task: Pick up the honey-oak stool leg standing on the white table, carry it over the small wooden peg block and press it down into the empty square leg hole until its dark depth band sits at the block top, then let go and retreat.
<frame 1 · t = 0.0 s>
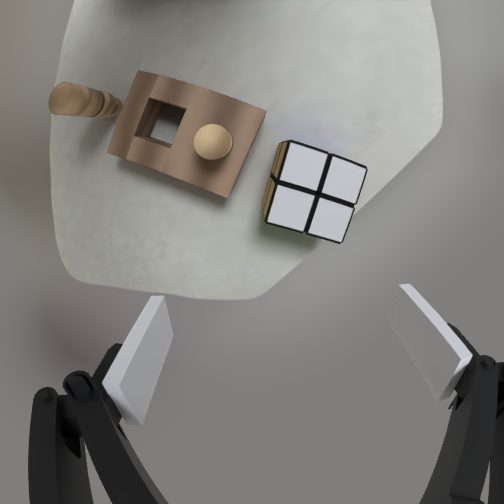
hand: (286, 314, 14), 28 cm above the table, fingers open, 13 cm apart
wooden peg block: (190, 131, 36), on the table
puzzle cube: (302, 182, 40), on the table
leg: (113, 107, 34), on the table
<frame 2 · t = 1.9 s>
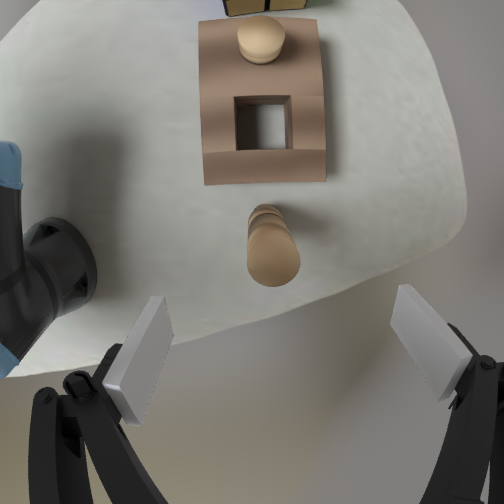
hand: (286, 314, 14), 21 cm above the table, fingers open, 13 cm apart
wooden peg block: (260, 102, 29), on the table
leg: (264, 216, 34), on the table
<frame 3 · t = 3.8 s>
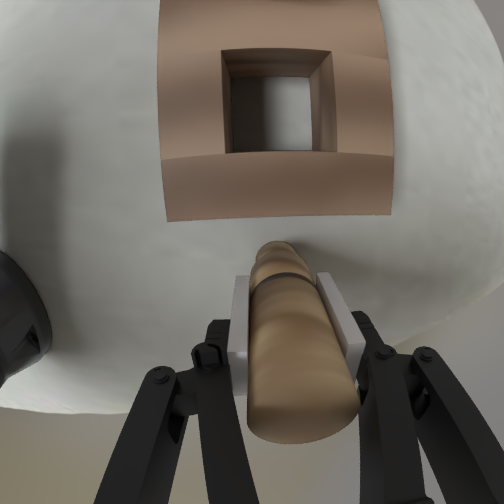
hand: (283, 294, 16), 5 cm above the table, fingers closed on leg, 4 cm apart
wooden peg block: (269, 73, 16), on the table
leg: (276, 260, 21), on the table, touching gripper
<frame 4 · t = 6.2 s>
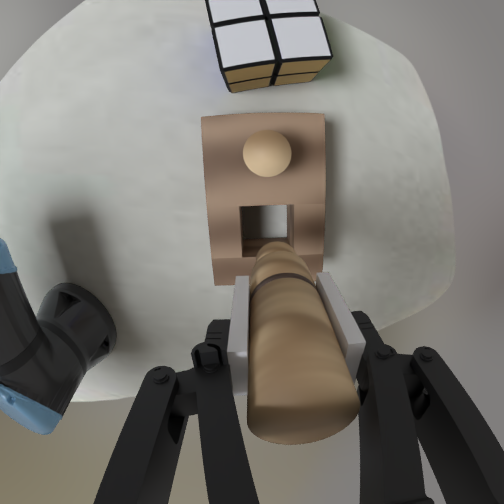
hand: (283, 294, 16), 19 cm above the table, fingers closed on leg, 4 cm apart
wooden peg block: (263, 193, 33), on the table
puzzle cube: (262, 51, 26), on the table
leg: (276, 261, 21), point 14 cm above the table, touching gripper
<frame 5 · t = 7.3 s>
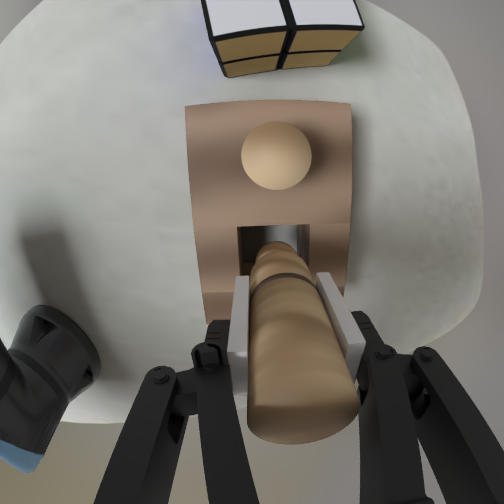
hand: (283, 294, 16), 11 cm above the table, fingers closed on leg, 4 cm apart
wooden peg block: (268, 205, 26), on the table
puzzle cube: (267, 28, 20), on the table
leg: (276, 261, 21), point 6 cm above the table, touching gripper
when the fingers open (7 cm above the table, at t = 8.4 s): leg drops 2 cm, resting in wooden peg block.
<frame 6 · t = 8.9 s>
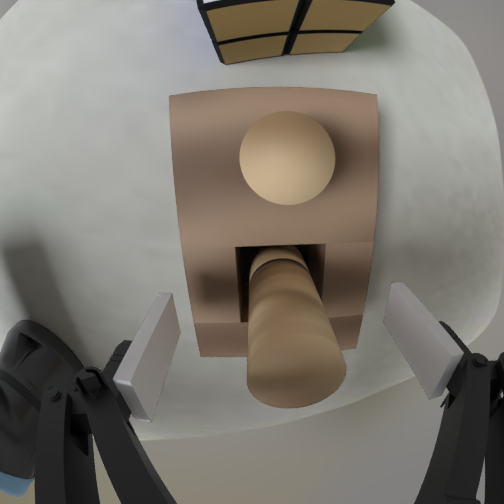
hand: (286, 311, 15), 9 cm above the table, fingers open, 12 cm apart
wooden peg block: (273, 216, 22), on the table
puzzle cube: (271, 9, 16), on the table
leg: (274, 251, 23), resting in wooden peg block
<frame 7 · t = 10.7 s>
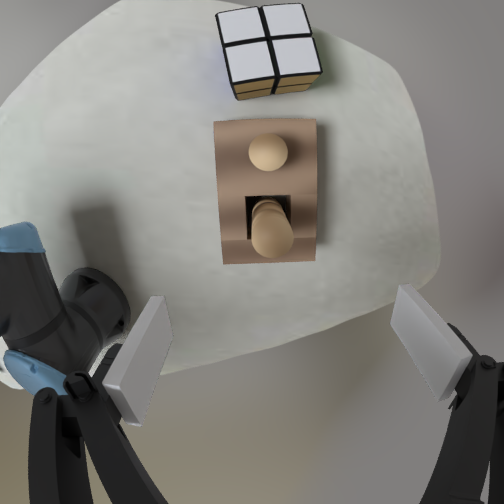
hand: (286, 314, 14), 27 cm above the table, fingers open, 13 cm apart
wooden peg block: (265, 186, 38), on the table
puzzle cube: (264, 64, 32), on the table
leg: (266, 207, 39), resting in wooden peg block
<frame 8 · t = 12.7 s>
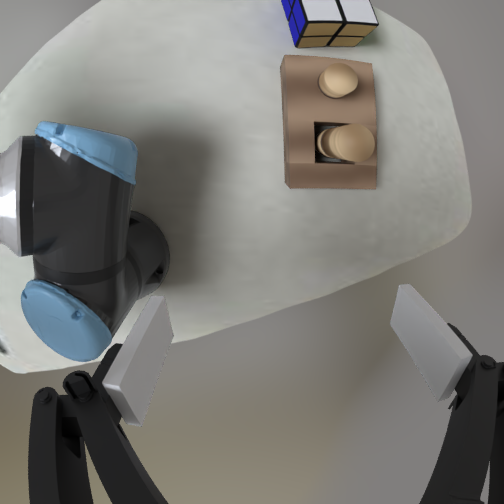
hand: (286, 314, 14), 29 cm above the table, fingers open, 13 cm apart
wooden peg block: (323, 124, 37), on the table
puzzle cube: (318, 22, 30), on the table
leg: (323, 143, 38), resting in wooden peg block
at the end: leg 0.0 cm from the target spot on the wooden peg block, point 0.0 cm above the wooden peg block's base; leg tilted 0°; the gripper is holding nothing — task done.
